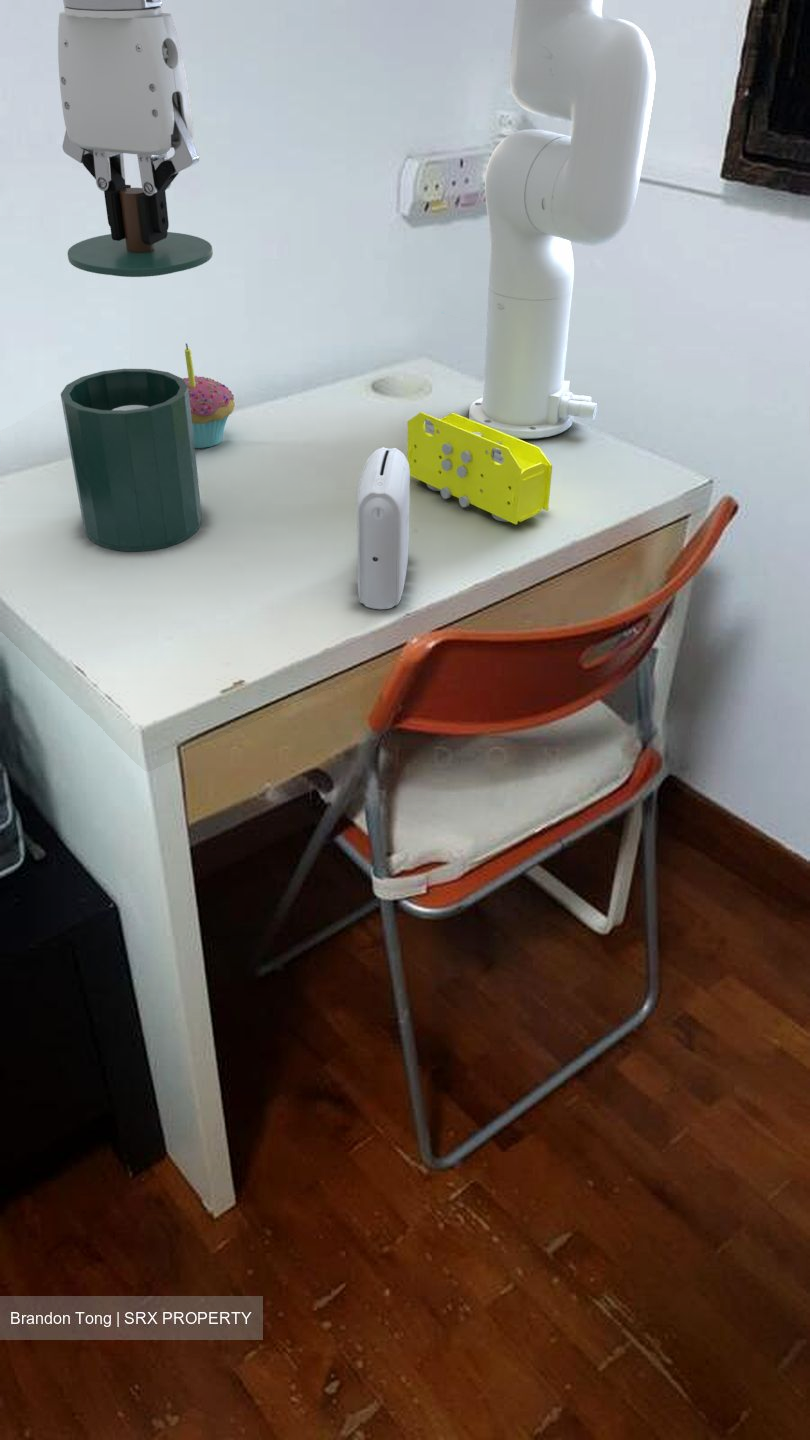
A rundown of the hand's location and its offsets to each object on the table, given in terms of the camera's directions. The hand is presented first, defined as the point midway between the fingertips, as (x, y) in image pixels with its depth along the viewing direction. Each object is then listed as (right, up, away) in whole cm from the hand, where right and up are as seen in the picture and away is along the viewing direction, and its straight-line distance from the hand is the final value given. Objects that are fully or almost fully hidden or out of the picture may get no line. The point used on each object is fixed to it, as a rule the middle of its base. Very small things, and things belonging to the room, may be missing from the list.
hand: (139, 237), depth 101 cm
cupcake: (0, -10, +32) cm, 34 cm away
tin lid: (0, -1, +1) cm, 2 cm away
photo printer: (+21, -30, +6) cm, 37 cm away
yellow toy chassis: (+31, -19, +21) cm, 42 cm away
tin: (-3, -23, +15) cm, 28 cm away
